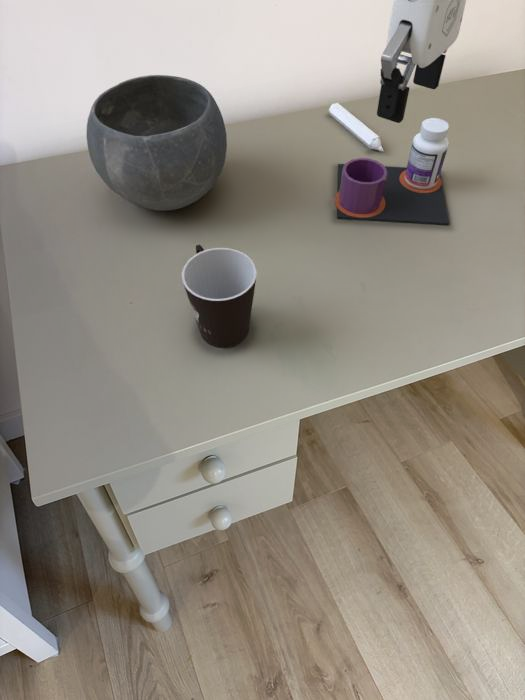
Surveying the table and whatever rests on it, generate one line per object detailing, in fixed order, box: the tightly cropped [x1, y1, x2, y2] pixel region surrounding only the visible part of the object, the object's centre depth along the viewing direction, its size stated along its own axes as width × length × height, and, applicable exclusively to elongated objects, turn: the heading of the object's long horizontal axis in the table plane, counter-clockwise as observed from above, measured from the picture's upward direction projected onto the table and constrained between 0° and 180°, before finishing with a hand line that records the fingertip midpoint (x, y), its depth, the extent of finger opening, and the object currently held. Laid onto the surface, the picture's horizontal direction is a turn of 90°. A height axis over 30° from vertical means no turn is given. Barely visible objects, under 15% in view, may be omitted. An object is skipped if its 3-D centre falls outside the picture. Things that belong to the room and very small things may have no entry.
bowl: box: [86, 74, 228, 211], centre depth 80 cm, size 20×20×15 cm
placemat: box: [334, 163, 450, 226], centre depth 86 cm, size 18×14×1 cm
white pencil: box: [328, 102, 385, 153], centre depth 95 cm, size 3×2×16 cm
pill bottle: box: [405, 117, 450, 189], centre depth 83 cm, size 5×5×10 cm
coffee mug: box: [181, 244, 258, 349], centre depth 66 cm, size 12×9×10 cm
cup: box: [339, 157, 387, 214], centre depth 82 cm, size 7×7×6 cm
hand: (407, 101), depth 65 cm, fingers open, 9 cm apart
